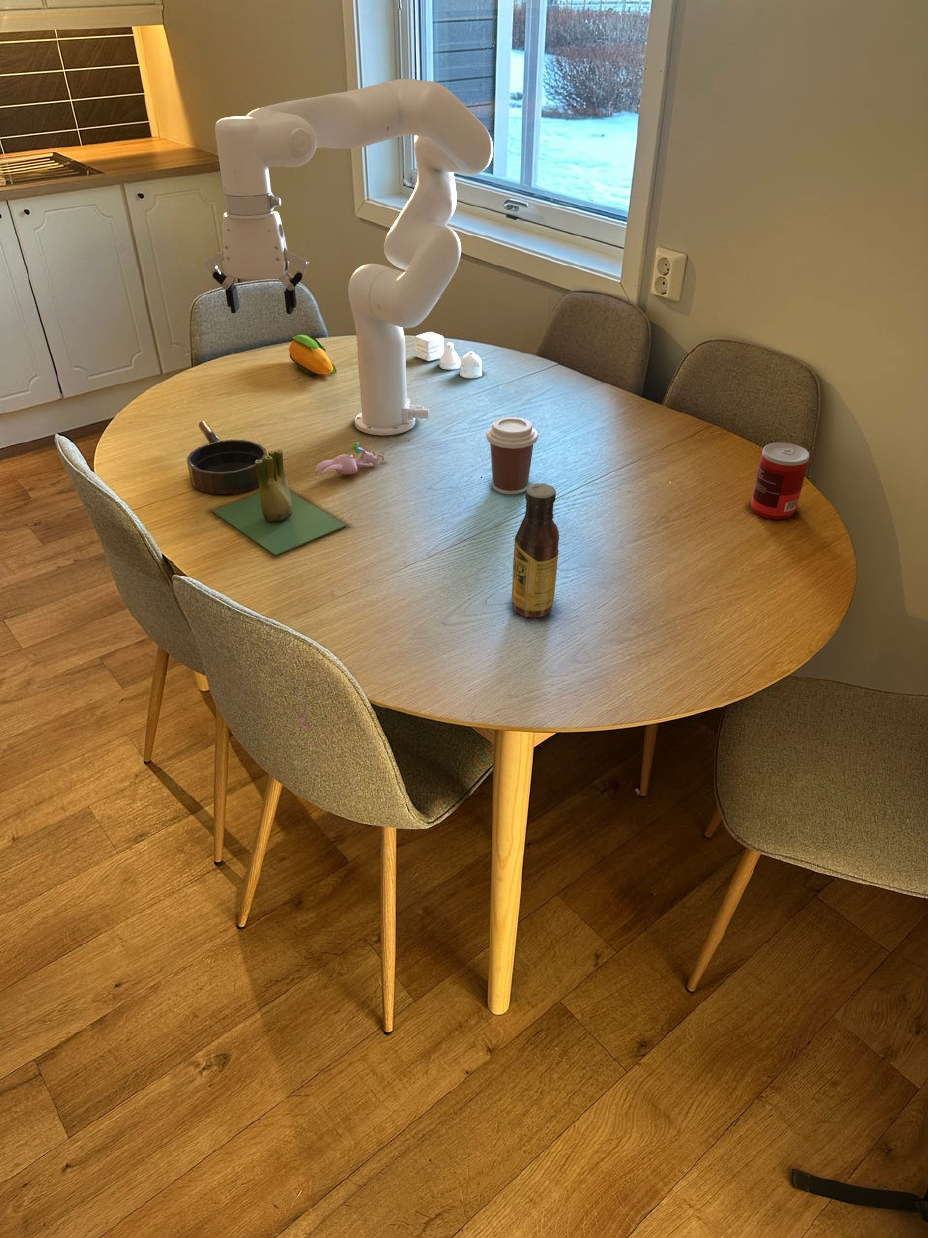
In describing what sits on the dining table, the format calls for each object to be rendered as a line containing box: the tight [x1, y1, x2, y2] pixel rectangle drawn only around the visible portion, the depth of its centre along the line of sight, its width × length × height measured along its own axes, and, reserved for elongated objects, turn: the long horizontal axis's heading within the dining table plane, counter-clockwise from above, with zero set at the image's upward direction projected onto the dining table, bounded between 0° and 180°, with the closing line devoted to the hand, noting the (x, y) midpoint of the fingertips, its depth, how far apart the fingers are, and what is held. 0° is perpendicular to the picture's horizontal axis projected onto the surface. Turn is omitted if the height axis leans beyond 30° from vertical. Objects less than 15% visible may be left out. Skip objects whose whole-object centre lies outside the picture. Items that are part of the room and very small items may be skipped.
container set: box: [414, 331, 483, 379], centre depth 209 cm, size 20×5×6 cm, turn 42°
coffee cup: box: [485, 416, 539, 495], centre depth 157 cm, size 9×9×12 cm
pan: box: [186, 439, 268, 496], centre depth 161 cm, size 14×14×4 cm
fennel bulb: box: [255, 449, 293, 521], centre depth 147 cm, size 6×5×12 cm
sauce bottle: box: [511, 482, 560, 619], centre depth 123 cm, size 7×6×20 cm
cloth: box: [211, 491, 347, 557], centre depth 150 cm, size 20×14×1 cm
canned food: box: [750, 441, 811, 520], centre depth 150 cm, size 8×8×11 cm
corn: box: [288, 334, 338, 375], centre depth 206 cm, size 7×8×20 cm
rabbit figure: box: [314, 441, 386, 476], centre depth 163 cm, size 6×6×15 cm
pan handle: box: [198, 420, 221, 444], centre depth 170 cm, size 12×2×2 cm, turn 28°
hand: (263, 311), depth 152 cm, fingers open, 9 cm apart
